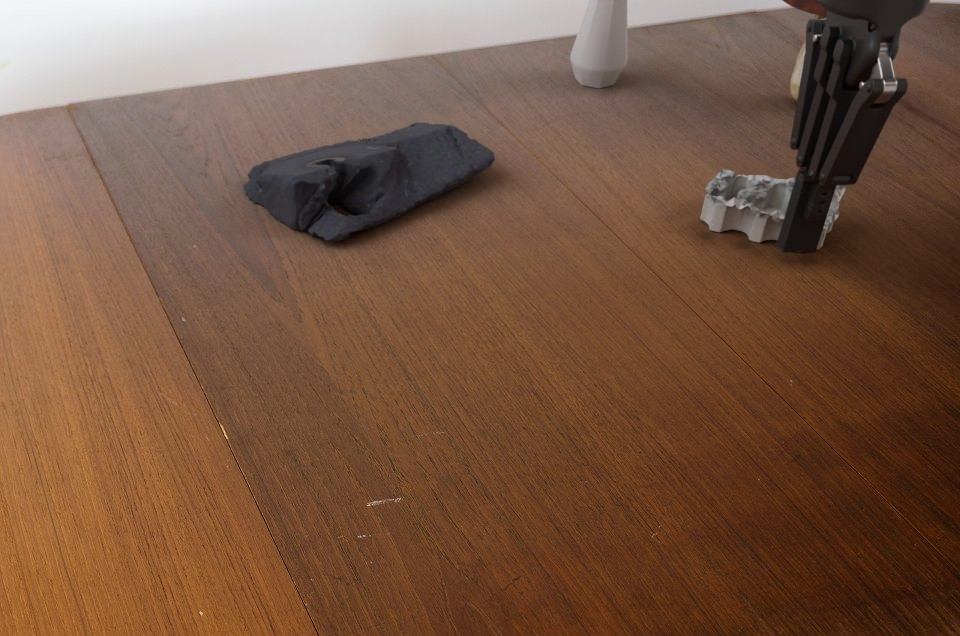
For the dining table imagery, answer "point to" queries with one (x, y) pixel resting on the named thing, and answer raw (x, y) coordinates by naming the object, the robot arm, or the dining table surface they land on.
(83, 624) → the dining table surface
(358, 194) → the dark slate chunk
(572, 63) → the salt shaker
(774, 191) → the egg carton
